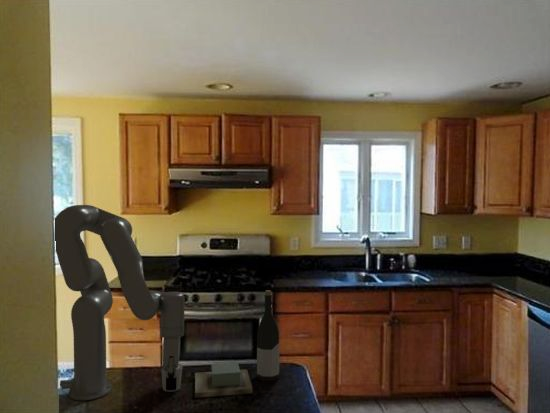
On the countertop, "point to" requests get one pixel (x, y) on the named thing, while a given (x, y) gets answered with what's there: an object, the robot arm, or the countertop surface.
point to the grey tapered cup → (178, 377)
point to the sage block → (225, 374)
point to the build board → (207, 390)
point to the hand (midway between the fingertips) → (171, 385)
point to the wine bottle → (268, 344)
